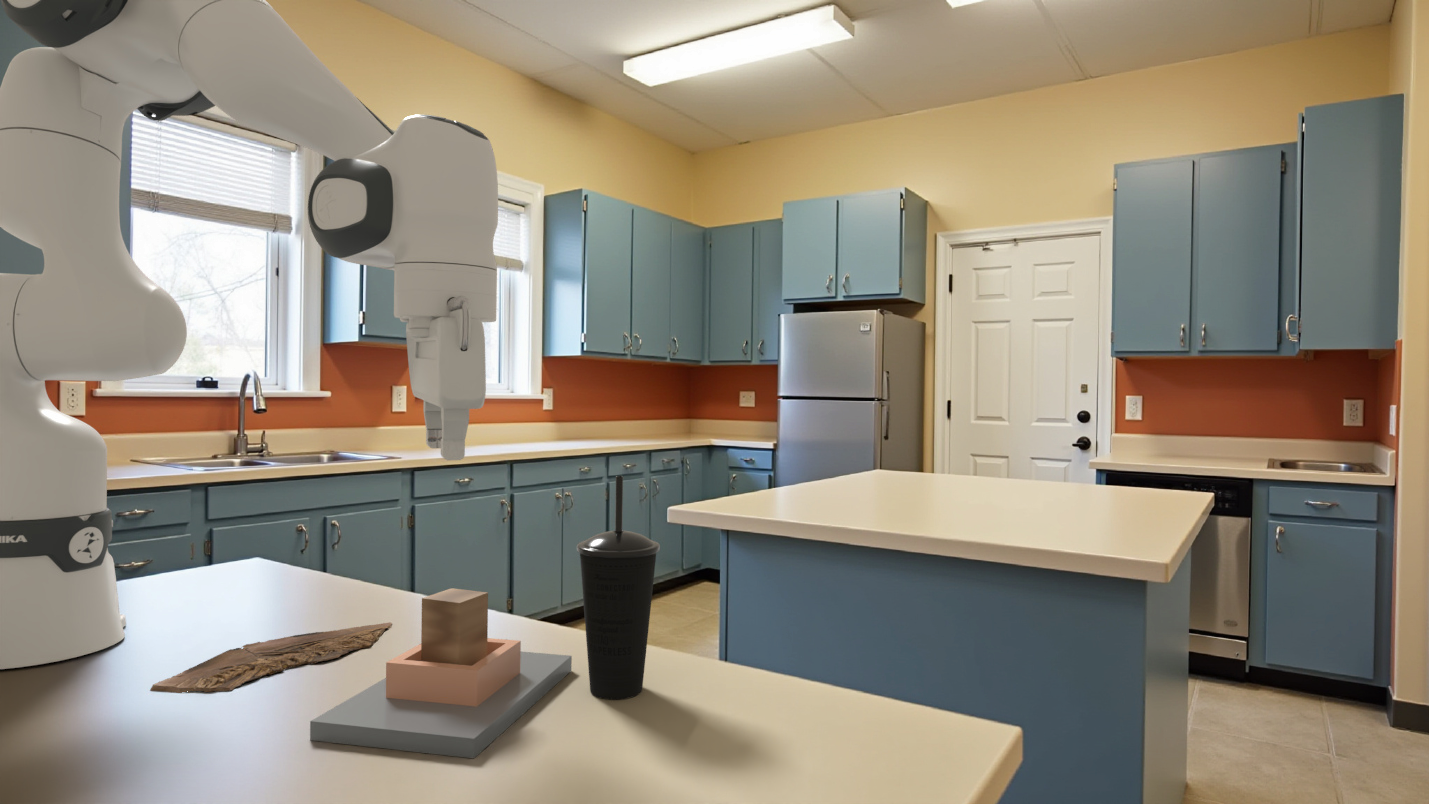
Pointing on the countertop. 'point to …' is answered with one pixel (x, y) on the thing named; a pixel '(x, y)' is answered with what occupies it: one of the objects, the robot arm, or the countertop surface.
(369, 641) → the wooden fragment
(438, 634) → the brown wooden block
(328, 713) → the stand
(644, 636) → the drinking cup
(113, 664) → the countertop surface
